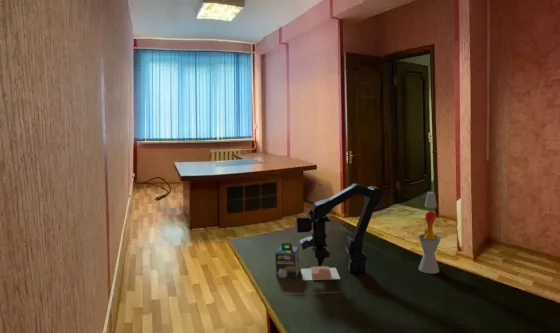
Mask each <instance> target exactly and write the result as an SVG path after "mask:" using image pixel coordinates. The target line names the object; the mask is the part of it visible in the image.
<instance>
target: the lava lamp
mask: <svg viewBox="0 0 560 333" xmlns="http://www.w3.org/2000/svg"><path fill="white" fill-rule="evenodd" d="M425 197H426V198H425V204H424V207H425V208H428V209H435V208H438V207H437V200H436V194H435V192H430V191H429V192H428V191H427V193H426V196H425ZM425 219H426V224H427V227H425V228H424V230H423V232H424V234H423V233H422V234H420V235H419V236H418V239H419V242H420V245H421V247H422V252H423V255H422V257H421V261H420V263H419V266H418V270H419V272H422V273H425V274H433V275H434V274H437V273H440V269H439V268H440V267H439V264H438V261H437V258H436V256H435V254H436V251H437V248H438V247H439V244H440V242H441V237H440V236H439V235H437V234H436V235H435V234H434V233H433V232H434V231H433V226H434V223H435V221H436V219H437V215H436V213H435V212H434V211H431V210H430V211H427V212H426V213H425Z"/></svg>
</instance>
